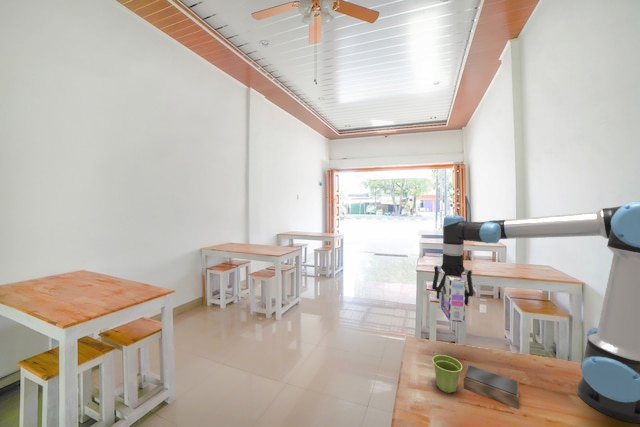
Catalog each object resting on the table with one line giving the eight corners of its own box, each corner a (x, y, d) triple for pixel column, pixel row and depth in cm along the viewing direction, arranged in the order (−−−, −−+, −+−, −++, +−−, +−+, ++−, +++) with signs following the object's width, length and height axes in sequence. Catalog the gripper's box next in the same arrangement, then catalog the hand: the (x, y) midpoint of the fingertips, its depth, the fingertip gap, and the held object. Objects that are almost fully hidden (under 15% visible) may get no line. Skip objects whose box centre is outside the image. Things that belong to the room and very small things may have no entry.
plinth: (518, 392, 89) (518, 380, 89) (518, 408, 82) (518, 396, 82) (467, 374, 98) (468, 364, 98) (463, 387, 91) (464, 376, 91)
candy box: (465, 323, 101) (466, 280, 100) (448, 321, 102) (449, 279, 101) (454, 309, 114) (455, 271, 114) (440, 307, 115) (441, 270, 115)
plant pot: (463, 384, 93) (463, 360, 93) (460, 401, 85) (460, 374, 85) (434, 375, 98) (435, 352, 98) (429, 389, 90) (429, 364, 90)
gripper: (483, 255, 104) (482, 312, 105) (428, 250, 116) (428, 301, 117) (481, 258, 98) (480, 319, 99) (424, 252, 110) (423, 306, 111)
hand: (451, 309), depth 108 cm, fingers closed on candy box, 8 cm apart
